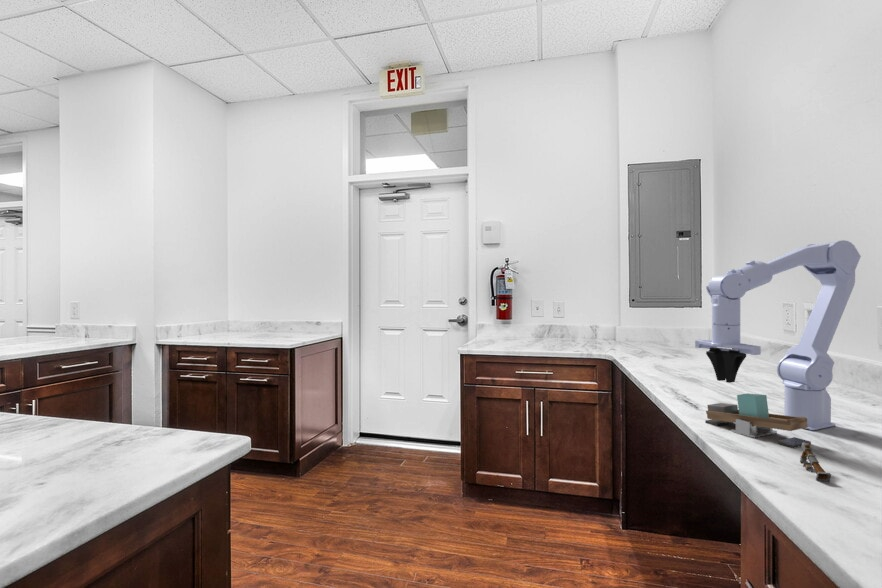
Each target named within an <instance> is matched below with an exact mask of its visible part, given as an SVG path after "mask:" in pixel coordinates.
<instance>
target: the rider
mask: <svg viewBox="0 0 882 588" xmlns="http://www.w3.org/2000/svg"><path fill="white" fill-rule="evenodd" d="M736 398H737V399H736V400H737V407H738V410H739V415H746V416H753V417H761V418H769V414H770V413H769V405H768V397H767V394H759V393H742V394H740V393H739V394H737V395H736Z"/></svg>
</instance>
